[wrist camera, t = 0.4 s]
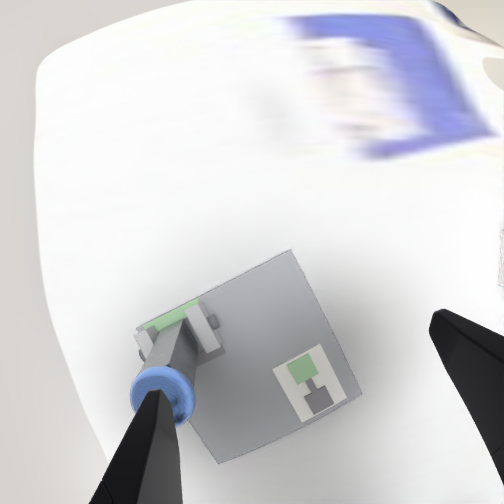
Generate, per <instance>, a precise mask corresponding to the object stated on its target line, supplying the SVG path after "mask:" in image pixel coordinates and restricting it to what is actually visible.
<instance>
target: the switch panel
mask: <svg viewBox="0 0 504 504" xmlns="http://www.w3.org/2000/svg"><path fill="white" fill-rule="evenodd" d="M181 319H184V320H185V322H186V324H187V326H188V327H189V329H190V331H191V333H192V334H193V336H194V338H195V339H196V341H197V343H198V345H199V346H198V355H197V365H196V375H195V385H194V390H195V394H196V405H195V409H194V412H193V414H192V415H191V417H190V418H189V419H188V420H189V422H190V423H191V425H192V426H193V428H194V429H195V431H196V432H197V434H198V435H199V437H200V438H201V440H202V441H203V443H204V444H205V446H206V447H207V449H208V450H209V451H210V453H211V454H212V456H213V457H214V459H215V460H216V461H217V463H218V464H220V463H223V462H225V461H228V460H231V459H233V458H236V457H238V456H241V455H243V454H246V453H248V452H250V451H253V450H255V449H257V448H260V447H262V446H264V445H267V444H269V443H271V442H273V441H275V440H277V439H280V438H282V437H284V436H286V435H288V434H290V433H292V432H294V431H296V430H298V429H300V428H302V427H304V426H306V425H308V424H310V423H312V422H314V421H316V420H318V419H319V418H321V417H323V416H325V415H327V414H329V413H330V412H332V411H334V410H336V409H338V408H339V407H341V406H343V405H344V404H346V403H348V402H350V401H351V400H353V399H355V398H356V397H358V396H359V395H361V394H362V392H361V390H360V388H359V386H358V383H357V381H356V379H355V377H354V375H353V373H352V371H351V369H350V367H349V364H348V362H347V360H346V358H345V356H344V354H343V352H342V350H341V348H340V346H339V344H338V342H337V340H336V338H335V336H334V333H333V331H332V329H331V327H330V325H329V323H328V321H327V319H326V317H325V315H324V313H323V311H322V309H321V307H320V305H319V303H318V301H317V299H316V297H315V295H314V293H313V291H312V289H311V287H310V285H309V283H308V281H307V280H306V278H305V276H304V274H303V272H302V270H301V268H300V266H299V264H298V262H297V260H296V258H295V256H294V254H293V252H292V250H289V251H287V252H285V253H283V254H281V255H279V256H277V257H275V258H273V259H271V260H270V261H268V262H266V263H264V264H262V265H260V266H258V267H256V268H254V269H252V270H250V271H248V272H246V273H244V274H242V275H240V276H238V277H237V278H235V279H233V280H231V281H229V282H227V283H225V284H223V285H221V286H219V287H217V288H215V289H213V290H211V291H209V292H207V293H205V294H203V295H201V296H199V297H197V298H195V299H193V300H191V301H189V302H187V303H185V304H183V305H181V306H179V307H177V308H175V309H173V310H171V311H169V312H167V313H165V314H163V315H161V316H159V317H157V318H155V319H153V320H151V321H149V322H147V323H145V324H143V325H141V326H139V327H137V328H136V329H137V331H138V333H137V334H135V335H134V337H135V339H136V341H137V343H138V345H139V347H140V350H139V355H140V357H141V359H142V360H143V361H144V362H145V361H146V359H147V357H148V355H149V353H150V351H151V349H152V347H153V345H154V343H155V341H156V339H157V337H158V335H159V333H160V331H161V329H163V328H165V327H167V326H169V325H171V324H173V323H175V322H177V321H179V320H181Z"/></svg>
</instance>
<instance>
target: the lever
mask: <svg viewBox="0 0 504 504" xmlns="http://www.w3.org/2000/svg"><path fill="white" fill-rule="evenodd" d="M198 346H199V345H198V343H197V341H196V339H195V338H194V336H193V334H192V333H191V331H190V329H189V327H188V326H187V324H186V322H185V320H184V319H181V320H179V321H177V322H175V323H173V324H171V325H169V326H167V327H165V328H163V329H161V331H160V333H159V335H158V337H157V339H156V341H155V343H154V345H153V347H152V349H151V351H150V353H149V355H148V357H147V359H146V361H145V363H144V365H143V367H142V369H141V371H140V373H139V375H138V376H137V377H136V378H135V380H134V381H133V383H132V386H131V389H130V401H131V405H132V408H133V410H134V412H135V414H136V412H137V410H138V408H139V406H140V405H141V403H142V401H143V399H144V397H145V395H146V393H147V392H148V391H149V390H153V389H161V390H162V391H163V392H164V393H165V395H166V396H167V398H168V400H169V401H170V403H171V405H172V409H173V415H174V422H175V428H177V427H179V426H181V425H182V424H184V423H185V422H186V421H187V420H188V419H189V418H190V417H191V415H192V414H193V412H194V409H195V405H196V394H195V390H194V385H195V375H196V365H197V355H198Z"/></svg>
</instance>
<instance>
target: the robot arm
mask: <svg viewBox="0 0 504 504" xmlns="http://www.w3.org/2000/svg"><path fill="white" fill-rule="evenodd" d="M429 334H430V337H431V339H432V341H433V343H434V345H435V347H436V349H437V352H438V354H439V356H440V358H441V360H442V363H443V365H444V367H445V369H446V371H447V373H448V374H449V376H450V378H451V380H452V381H453V383H454V385H455V387H456V389H457V390H458V392H459V394H460V396H461V398H462V399H463V401H464V403H465V405H466V407H467V409H468V411H469V413H470V414H471V416H472V418H473V420H474V422H475V424H476V426H477V428H478V430H479V432H480V434H481V436H482V438H483V440H484V442H485V444H486V446H487V448H488V451H489V453H490V455H491V457H492V460H493V462H494V464H495V466H496V468H497V471H498V473H499V475H500V478H501V480H502V482H503V485H504V336H502V335H500V334H498V333H496V332H493V331H491V330H489V329H487V328H485V327H483V326H481V325H479V324H477V323H475V322H472V321H470V320H468V319H466V318H464V317H462V316H460V315H458V314H455V313H453V312H451V311H449V310H447V309H440V310H438V311H435V312H434V313H433V316H432V319H431V323H430V327H429ZM89 504H183V500H182V487H181V472H180V455H179V446H178V440H177V434H176V428H175V422H174V415H173V409H172V405H171V403H170V401H169V400H168V398H167V396H166V395H165V393H164V392H163V391H162V390H161V389H153V390H149V391H148V392H147V393H146V395H145V397H144V399H143V401H142V403H141V405H140V406H139V408H138V410H137V412H136V414H135V416H134V418H133V420H132V422H131V424H130V425H129V427H128V429H127V431H126V433H125V435H124V437H123V439H122V441H121V443H120V445H119V447H118V448H117V450H116V452H115V454H114V456H113V458H112V460H111V462H110V464H109V466H108V468H107V470H106V472H105V474H104V476H103V478H102V481H101V482H100V484H99V486H98V488H97V490H96V492H95V493H94V495H93V497H92V499H91V501H90V502H89Z"/></svg>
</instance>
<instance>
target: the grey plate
mask: <svg viewBox="0 0 504 504" xmlns="http://www.w3.org/2000/svg"><path fill="white" fill-rule="evenodd" d="M498 285H499V286H504V230H502V231H501V245H500V267H499V281H498Z"/></svg>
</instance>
